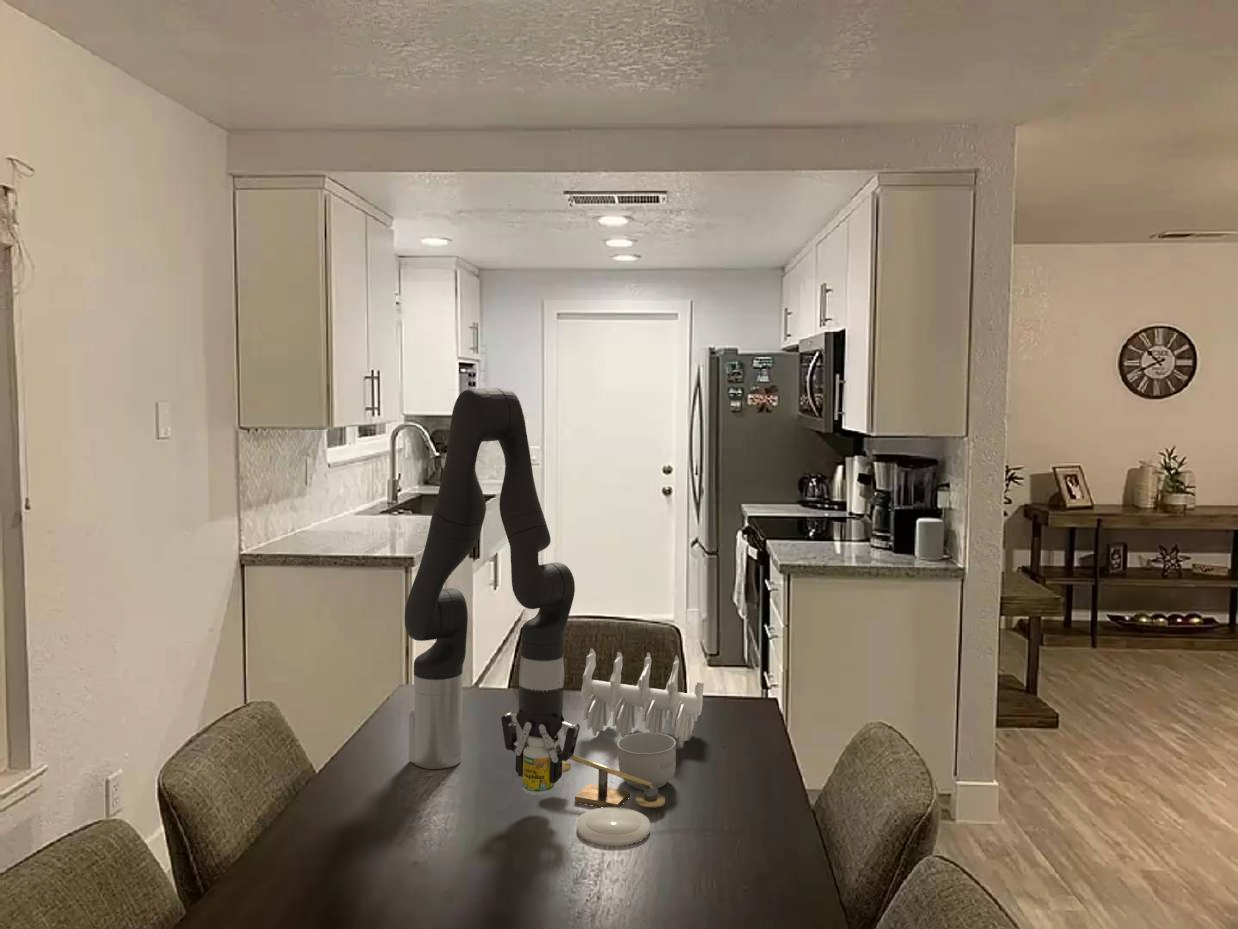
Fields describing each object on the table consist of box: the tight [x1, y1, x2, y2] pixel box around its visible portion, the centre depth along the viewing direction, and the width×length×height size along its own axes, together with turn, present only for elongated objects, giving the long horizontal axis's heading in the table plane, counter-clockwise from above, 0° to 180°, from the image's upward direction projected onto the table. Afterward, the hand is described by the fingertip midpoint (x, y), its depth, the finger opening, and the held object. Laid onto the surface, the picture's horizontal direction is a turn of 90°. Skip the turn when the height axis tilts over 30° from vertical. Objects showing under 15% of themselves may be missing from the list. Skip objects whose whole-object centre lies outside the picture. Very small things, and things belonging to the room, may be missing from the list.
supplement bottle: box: [522, 736, 555, 796], centre depth 170 cm, size 5×5×10 cm
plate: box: [576, 807, 651, 847], centre depth 164 cm, size 12×12×1 cm
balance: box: [562, 754, 666, 809], centre depth 175 cm, size 23×6×8 cm, turn 69°
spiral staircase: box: [580, 648, 705, 746], centre depth 207 cm, size 18×18×25 cm
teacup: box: [616, 729, 677, 790], centre depth 185 cm, size 14×11×8 cm
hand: (538, 778), depth 170 cm, fingers closed on supplement bottle, 5 cm apart
